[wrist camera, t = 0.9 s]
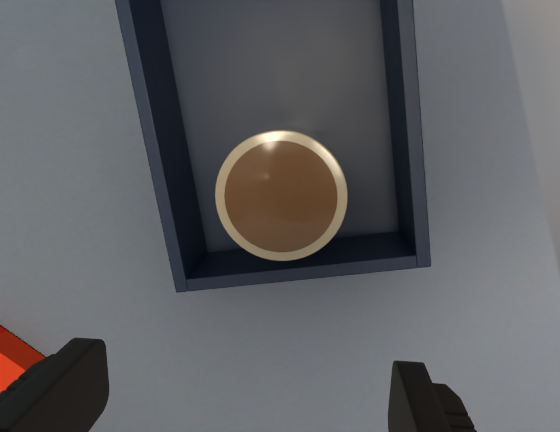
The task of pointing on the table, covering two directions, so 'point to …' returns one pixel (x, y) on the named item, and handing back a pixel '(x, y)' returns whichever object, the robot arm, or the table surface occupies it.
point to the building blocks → (14, 358)
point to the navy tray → (280, 124)
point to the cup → (282, 193)
